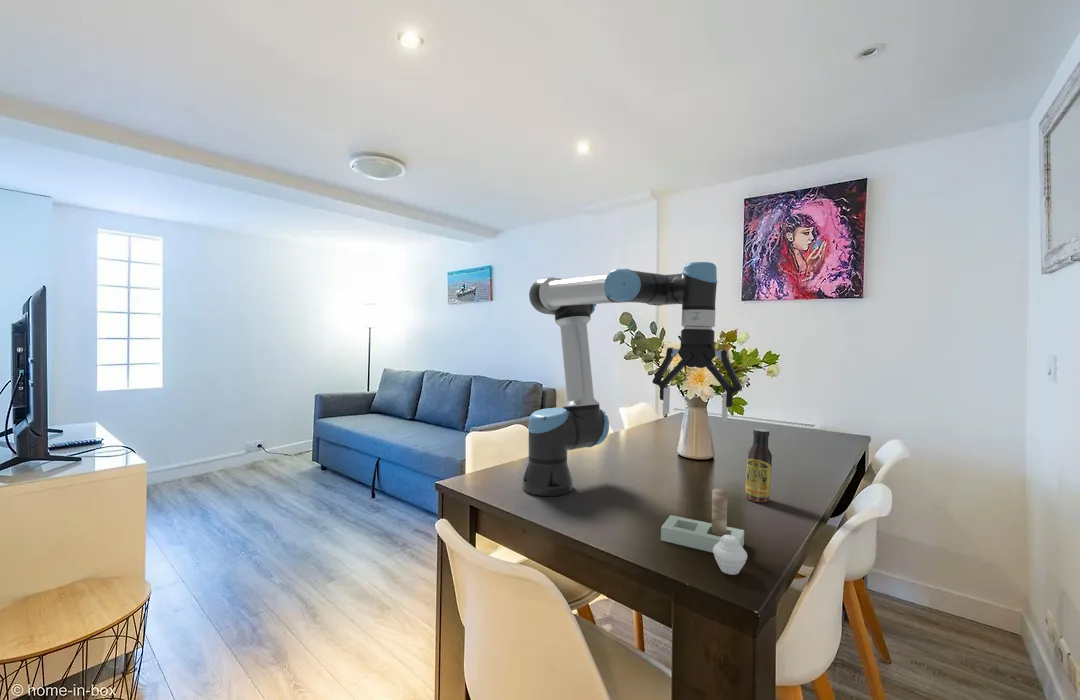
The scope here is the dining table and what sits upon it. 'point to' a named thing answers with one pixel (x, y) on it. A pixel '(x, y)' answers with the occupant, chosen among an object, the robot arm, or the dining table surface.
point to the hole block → (694, 533)
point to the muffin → (729, 554)
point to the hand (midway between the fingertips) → (694, 417)
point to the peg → (719, 512)
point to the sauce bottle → (759, 468)
